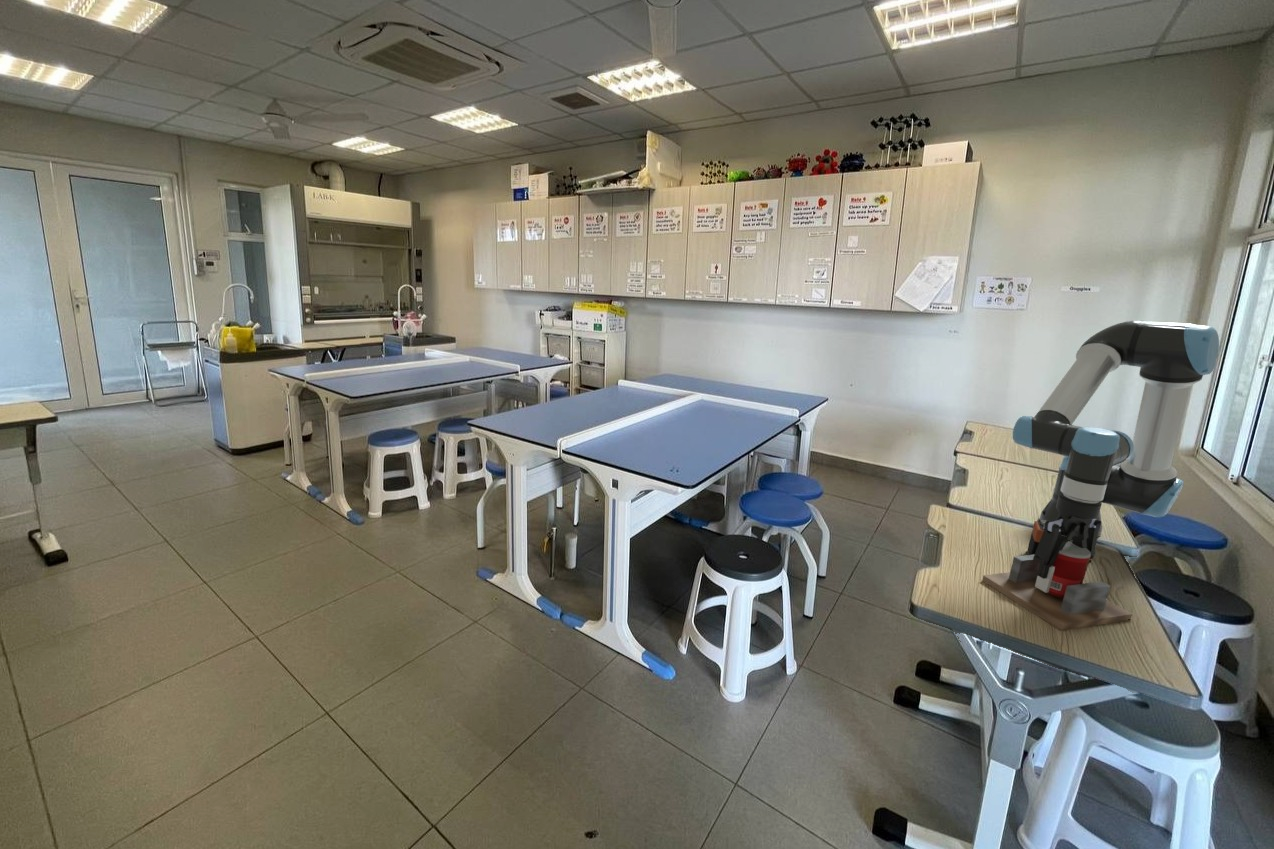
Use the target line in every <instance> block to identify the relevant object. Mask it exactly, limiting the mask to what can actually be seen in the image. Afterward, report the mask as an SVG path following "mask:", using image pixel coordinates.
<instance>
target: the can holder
mask: <svg viewBox="0 0 1274 849" xmlns="http://www.w3.org/2000/svg"><path fill="white" fill-rule="evenodd" d="M1034 555H1035V554H1034ZM1034 555H1029V554H1028V555H1027V554H1026V555H1025V554H1024V555H1017V556H1016V555H1015V556H1013V558H1012V563H1011V564H1012V565H1011V568H1010V571H1008V572H1001V573H1000V572H998V573H991V574H984V575H982V580H981V581H982V582H983V583H985V584H987V585H988V586H990V587H991V588H992V589H994V590H997V591H998V592H999V593H1001V594H1002V595H1004V596H1005V597H1007V598H1009V599H1010V600H1012V601H1013V602H1015V603H1016V604H1018V605H1020V606H1022V607H1023V608H1025V609H1026V610H1028V611H1029V612H1030V613H1032V614H1034V615H1035V616H1037V617H1038V618H1040V619H1042V620H1043V621H1045V622H1047V623H1048V624H1049V625H1051V626H1053V627H1055V628H1056V629H1058V630H1060V631H1069V630H1075V629H1081V628H1082V629H1083V628H1087V627H1093V626H1099V625H1106V624H1112V623H1120V622H1124V620H1126V621H1129V620H1128V619H1131V620H1132V617H1133V613H1132V612H1129V611H1128V610H1126V609H1124V608H1123V607H1120V606H1119V605H1117V604H1115V603H1113V602H1111V601H1110V600H1108V597H1109V593H1110V590H1111V587H1112V586H1111V585H1110V584H1108V583H1106V582H1105V581H1095V582H1092V581H1091V582H1088V583H1087V582H1086V583H1083V584H1077V585H1070V586H1067V588H1066V591H1065V595H1064V598H1061V597H1057V596H1054V595H1052V594H1049V593H1045V592H1044V591H1042V590H1040V589H1038V588H1037V587H1035V584H1036V580H1037V576H1038V574H1037V573H1038V570H1039V566H1040V563H1039V562H1037V561H1035V560H1034V559H1033V557H1034ZM1119 621H1120V622H1119Z"/></svg>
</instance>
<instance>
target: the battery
mask: <svg viewBox="0 0 1274 849" xmlns="http://www.w3.org/2000/svg"><path fill="white" fill-rule="evenodd" d="M1045 522H1046V520H1042V521H1041V522H1040V521H1034V523H1033V527H1032V531H1031V535H1030V538H1029V543H1028V546H1027V553H1028V555H1034V554H1035V552H1036V550H1037V547H1038V544H1039V542H1040V539H1041V537H1042V534H1043V532H1044V527H1045Z"/></svg>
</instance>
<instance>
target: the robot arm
mask: <svg viewBox="0 0 1274 849" xmlns="http://www.w3.org/2000/svg"><path fill="white" fill-rule="evenodd" d="M1219 337H1220V336H1219V334H1218V331H1217V329H1215V328H1214V327H1212V326H1209V325H1203V324H1202V325H1201V324H1194V323H1192V322H1191V323H1182V322H1165V321H1164V322H1162V321H1144V320H1129V321H1128V320H1127V321H1123V322H1119V323H1116V324H1113V325H1110V326H1108V327H1106V328H1104V329H1102V330H1100V331H1098V332H1097V333H1094V334H1093V335H1092V336H1090V337H1089V338H1088V339H1087V340H1086V341H1084V342H1083V343H1082V345H1081V346H1080V347H1079V348H1078V350H1077V351H1076V353H1075V358H1076V360H1075V361H1074V362H1073V364H1072V365H1071V367H1070V368H1069V369H1068V371H1067V372H1066V373H1065V374H1064V376H1063V378H1062V379H1061V380H1060V381H1059V383H1058V384H1057V386H1055V388H1054V390H1053V391H1052V392H1051V394H1050V396H1048V398H1047V399H1046V400H1045V402H1044V403H1043V404H1042V406H1041V407H1040V409H1039V410H1038V411H1037V413H1036V414H1035V416H1031V415H1030V416H1029V415H1028V416H1027V415H1022V416H1020V417H1019V418H1018V419H1017V420H1016V422H1015V424H1014V426H1013V430H1012V440H1013V442H1014V443H1015V444H1017V445H1020V446H1023V447H1025V448H1029V449H1032V450H1033V449H1034V450H1039V451H1042V452H1047V453H1052V454H1056V455H1061V456H1064V457H1063V458H1062V461H1061V462H1060V463H1061V464H1060V466H1059V467H1058V472H1057V473H1058V474H1057V478H1056V480H1055V481H1056V482H1055V486H1054V489H1053V494H1052V496H1051V498H1050V500H1049V502H1048V503H1047V504H1046V505H1045V506H1044V508H1043V509H1042V511H1041V513H1040V515H1039V522H1041V521H1042V520H1046V522H1045V527H1044V532H1043V534H1042V537H1041V539H1040V542H1039V544H1038V547H1037V550H1036V552H1035V555H1034V557H1033V559H1034V560H1035V561H1037V562H1039V563H1040V566H1039V570H1038V573H1037V574H1038V576H1037V580H1036V584H1035V587H1037V588H1038V589H1040V590H1042V591H1044V592H1045V593H1048V592H1049V588H1050V584H1051V581H1052V577H1053V573H1054V570H1055V567H1054V566H1052V565H1053V564H1054V562H1055V560H1056V559H1057V557H1058V553H1059V551H1062V549H1063V547H1064V546H1065V544H1066V542H1071V543H1073V544H1075V545H1076V546H1078V547H1080V548H1086V549H1088V550H1089V551H1090V552H1091V556H1090V560H1089V564H1088V565H1090V564H1091V563H1092V560H1093V559H1094V558H1095V554H1096V547H1097V544H1098V542H1097V541H1098V537H1100V536H1101V535H1102V531H1103V522H1102V514H1101V507H1102V503H1103V504H1106V505H1110V506H1113V507H1117V508H1121V509H1123V510H1127V511H1132V512H1135V513H1138V514H1140V515H1143V516H1144V515H1146V516H1150V517H1154V518H1163V517H1165V516H1166V515H1167V514H1168V513H1169V512H1170V510H1171V508H1172V507H1173V505H1174V504H1175V501H1176V500H1177V499H1178V496H1179V495H1180V493H1181V491H1182V489H1183V487H1184V481H1183V480H1182V479H1180V478H1177V476H1178V471H1177V469H1176V468H1175V467H1174V466H1173V465H1172V463H1173V461H1174V455H1175V452H1176V448H1177V444H1178V440H1179V438H1180V431H1181V428H1182V424H1183V420H1184V416H1185V412H1186V409H1187V404H1188V401H1189V396H1190V394H1191V389H1192V386H1193V385H1195V384H1196V383H1198V382H1201V381H1202V379H1203V377H1204V376H1206V375H1210V374H1212V373H1213V371H1214V370H1215V368H1216V364H1217V359H1218V357H1219V350H1220V349H1219V348H1220V339H1219ZM1120 366H1129V367H1130V366H1131V367H1136V368H1137V367H1138V368H1140V370H1139V373H1138V375H1139V377H1140V378H1142V379H1143V380H1144V381H1145V383H1144V387H1143V391H1142V396H1141V400H1140V401H1141V402H1140V405H1139V406H1140V407H1139V411H1138V415H1137V419H1136V425H1135V428H1134V433H1133V438H1131V437H1130V436H1129V435H1128V434H1127V433H1124V432H1123V431H1119V430H1113V429H1112V430H1111V429H1105V428H1100V427H1091V426H1089V427H1088V426H1087V427H1086V426H1084V427H1083V426H1079V425H1078V426H1077V425H1074V422H1075V421H1076V419H1077V418H1078V417H1079V415H1080V414H1081V413H1082V411H1083V410H1084V408H1085V407H1086V405H1087V404H1088V403H1089V401H1091V398H1092V397H1093V395H1095V393H1096V391H1097V390H1098V389H1099V388H1100V386H1101V384H1102V383H1103V381H1104V380H1105V379H1106V377H1107V376H1108V375H1109V373H1112V372H1114V371H1115V370H1118V368H1119V367H1120ZM1119 464H1120V465H1119Z"/></svg>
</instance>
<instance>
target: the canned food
mask: <svg viewBox="0 0 1274 849" xmlns="http://www.w3.org/2000/svg"><path fill="white" fill-rule="evenodd" d="M1090 556H1091V552H1090V551H1089V550H1088V549H1086V548H1080V547H1078V546H1076V545H1075V544H1073V543H1072V541H1069V542H1066V544H1065V546H1064V547H1063V549H1062V551H1059V553H1058V557H1057V559H1056V560H1055V562H1054V564H1053V565H1052V566H1054V567H1055V570H1054V573H1053V577H1052V581H1051V584H1050V588H1049V592H1048V593H1049V594H1052V595H1054V596H1057V597H1061V598H1064V595H1065V591H1066V588H1067V586H1070V585H1077V584H1084V580H1085V578H1086V573H1087V570H1088V567H1089V565H1090V564H1089V560H1090V561H1091V559H1090Z"/></svg>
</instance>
